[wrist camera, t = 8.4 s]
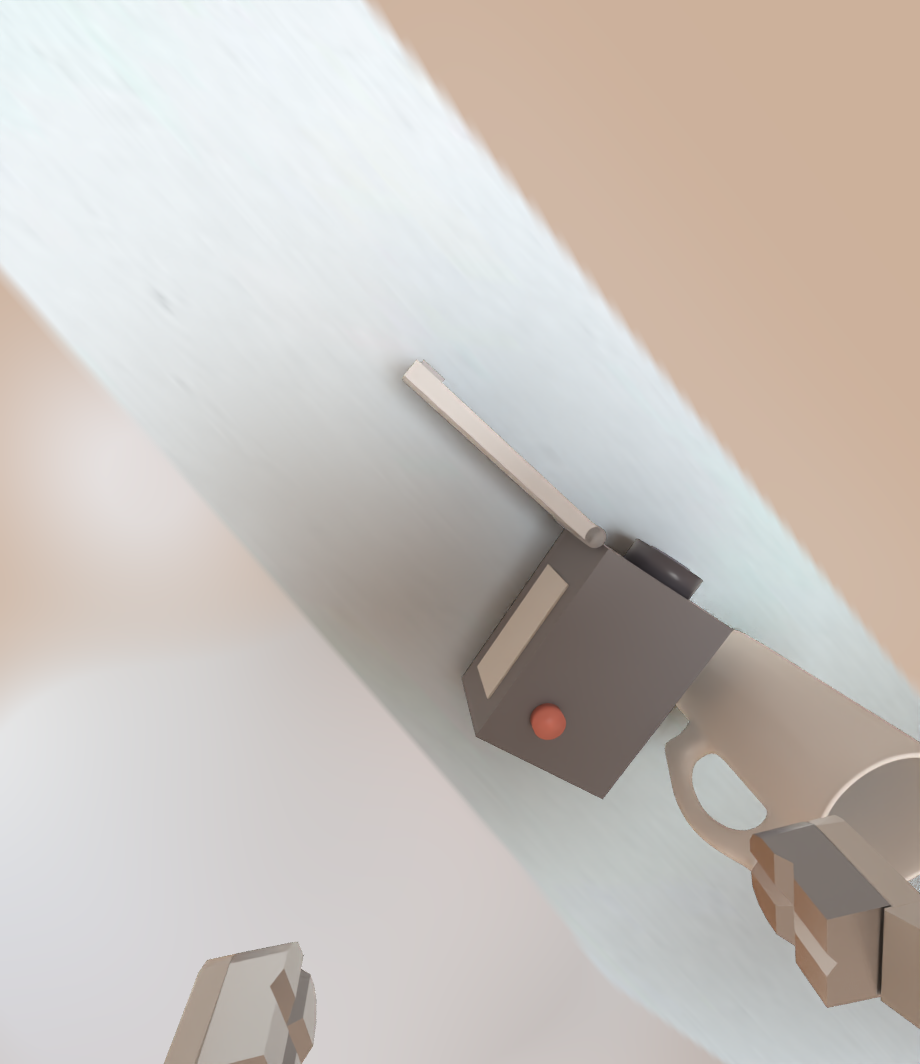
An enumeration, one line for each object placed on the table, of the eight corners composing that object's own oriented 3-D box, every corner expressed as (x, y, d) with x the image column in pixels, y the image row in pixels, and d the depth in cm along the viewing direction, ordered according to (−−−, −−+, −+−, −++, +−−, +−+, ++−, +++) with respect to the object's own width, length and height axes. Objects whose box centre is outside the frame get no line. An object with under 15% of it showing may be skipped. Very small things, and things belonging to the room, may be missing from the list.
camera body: (688, 572, 30) (758, 613, 24) (568, 734, 32) (607, 808, 26) (581, 500, 28) (629, 526, 22) (460, 677, 30) (476, 743, 24)
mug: (737, 602, 31) (940, 721, 20) (780, 680, 33) (988, 831, 21) (599, 695, 32) (718, 865, 20) (649, 766, 33) (784, 961, 22)
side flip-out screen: (562, 527, 28) (595, 552, 24) (400, 380, 25) (402, 376, 21) (577, 510, 28) (613, 532, 23) (416, 361, 25) (421, 353, 20)
